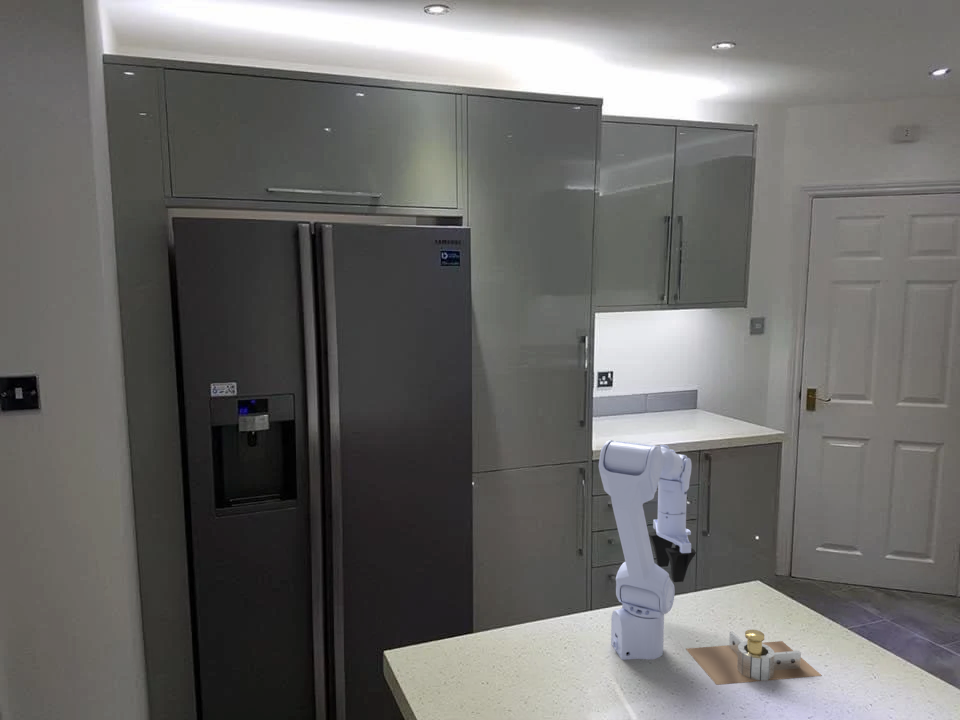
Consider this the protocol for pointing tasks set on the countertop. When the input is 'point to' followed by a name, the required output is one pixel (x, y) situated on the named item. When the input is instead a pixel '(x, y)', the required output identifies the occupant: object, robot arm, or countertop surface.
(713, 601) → the countertop surface
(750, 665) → the grey winged collar
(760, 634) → the brass cabinet knob
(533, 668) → the countertop surface
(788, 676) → the walnut board
